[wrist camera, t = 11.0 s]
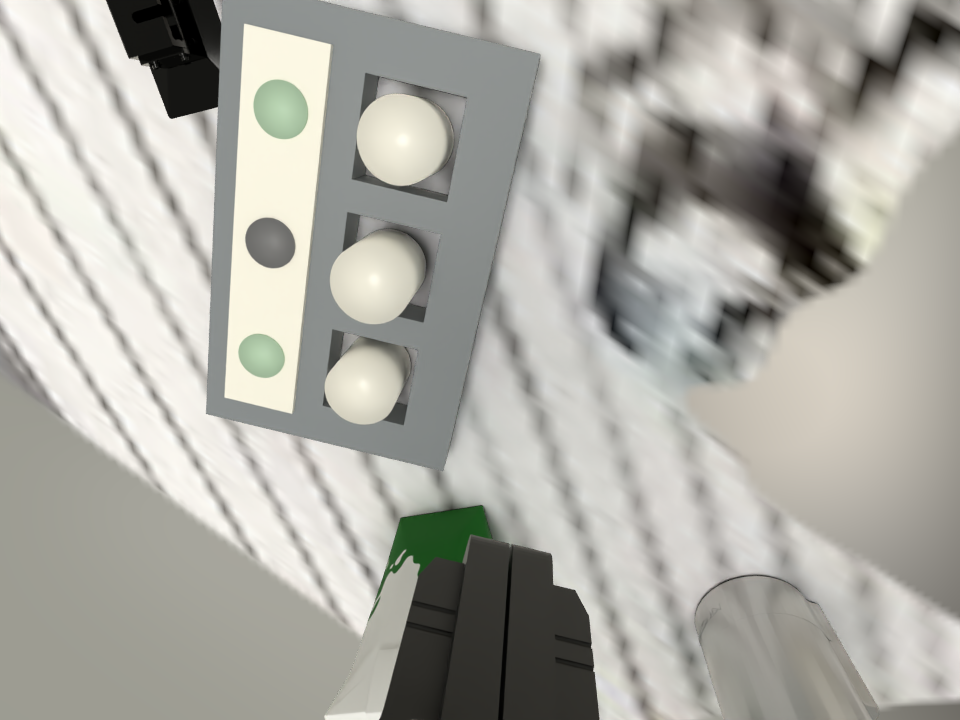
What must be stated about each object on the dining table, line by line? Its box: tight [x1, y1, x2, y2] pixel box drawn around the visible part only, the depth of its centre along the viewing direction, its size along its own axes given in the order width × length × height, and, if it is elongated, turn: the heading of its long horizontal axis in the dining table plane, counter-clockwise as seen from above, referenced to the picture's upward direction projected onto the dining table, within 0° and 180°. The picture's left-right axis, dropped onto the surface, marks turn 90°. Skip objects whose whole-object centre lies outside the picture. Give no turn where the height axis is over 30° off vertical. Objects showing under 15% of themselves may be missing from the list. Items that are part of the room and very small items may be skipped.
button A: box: [325, 337, 411, 425], centre depth 41 cm, size 5×5×5 cm
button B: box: [330, 229, 426, 324], centre depth 36 cm, size 5×5×5 cm
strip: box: [224, 24, 333, 414], centre depth 37 cm, size 5×24×1 cm, turn 167°
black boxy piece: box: [106, 0, 221, 119], centre depth 35 cm, size 12×7×5 cm, turn 13°
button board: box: [206, 0, 540, 471], centre depth 39 cm, size 18×28×3 cm, turn 168°
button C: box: [357, 94, 454, 186], centre depth 35 cm, size 5×5×5 cm
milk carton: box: [324, 506, 493, 720], centre depth 40 cm, size 9×9×20 cm
